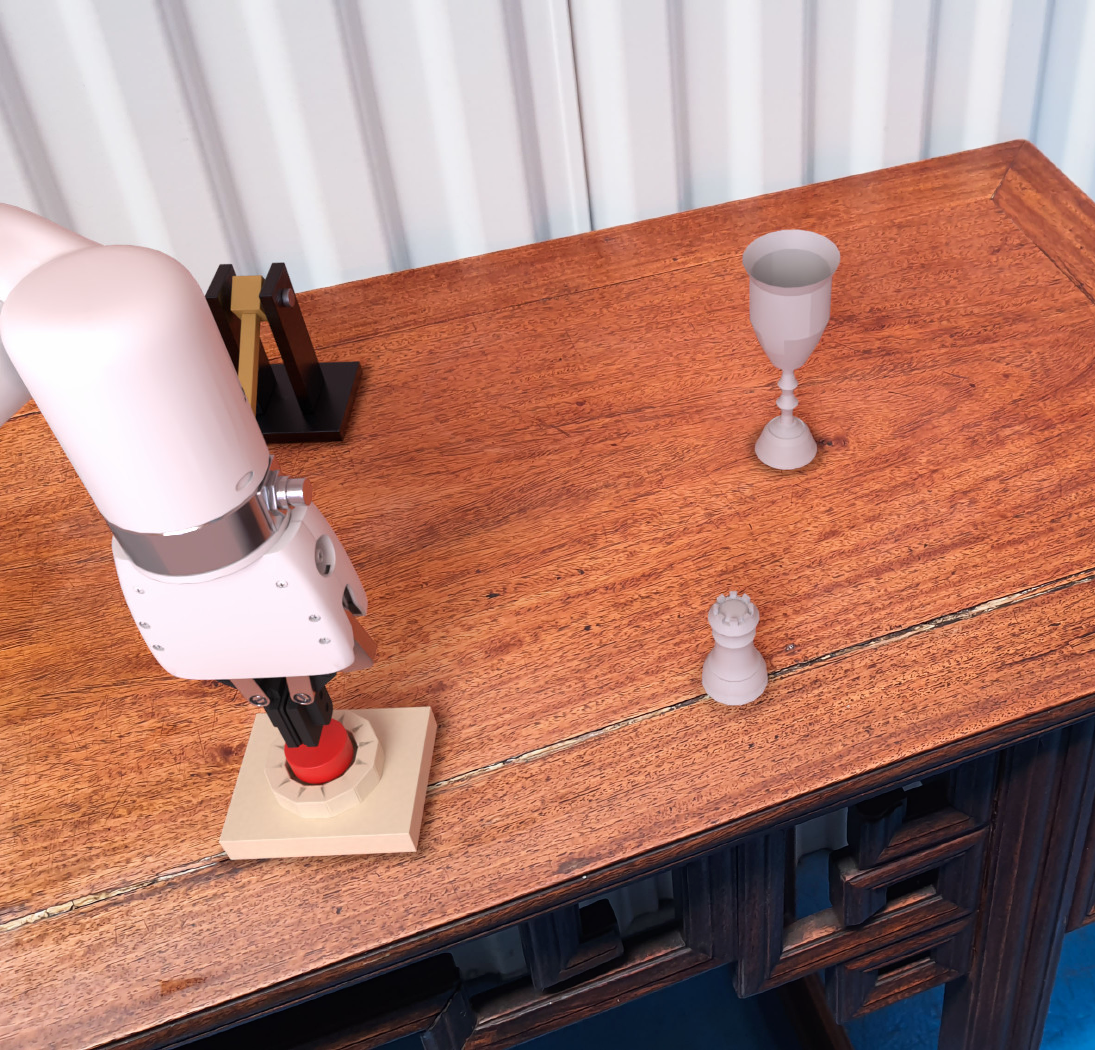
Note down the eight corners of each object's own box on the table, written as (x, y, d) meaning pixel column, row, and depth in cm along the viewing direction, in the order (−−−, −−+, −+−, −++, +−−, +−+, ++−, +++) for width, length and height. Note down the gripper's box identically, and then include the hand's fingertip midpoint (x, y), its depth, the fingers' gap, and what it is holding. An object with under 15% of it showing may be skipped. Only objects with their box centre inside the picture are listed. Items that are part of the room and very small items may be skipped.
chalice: (767, 409, 98) (770, 220, 85) (842, 433, 96) (856, 243, 83) (728, 463, 93) (724, 272, 80) (805, 489, 91) (814, 298, 78)
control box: (230, 860, 69) (207, 826, 67) (266, 732, 76) (247, 696, 73) (416, 852, 70) (402, 818, 67) (437, 725, 76) (425, 689, 73)
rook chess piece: (761, 714, 77) (762, 639, 71) (695, 704, 77) (690, 629, 71) (773, 660, 80) (774, 584, 74) (709, 651, 80) (705, 574, 74)
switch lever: (272, 473, 89) (256, 462, 85) (229, 475, 88) (211, 464, 85) (281, 289, 92) (266, 272, 89) (240, 291, 92) (223, 273, 89)
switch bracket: (342, 441, 95) (298, 312, 86) (218, 445, 95) (160, 316, 85) (363, 371, 101) (323, 244, 92) (246, 375, 101) (194, 247, 91)
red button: (286, 785, 69) (277, 769, 68) (299, 734, 71) (291, 717, 70) (347, 783, 69) (340, 767, 68) (358, 731, 71) (351, 715, 70)
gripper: (374, 443, 57) (447, 668, 70) (64, 454, 57) (197, 679, 70) (344, 557, 52) (430, 777, 65) (3, 570, 51) (159, 789, 65)
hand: (309, 726), depth 68 cm, fingers closed
